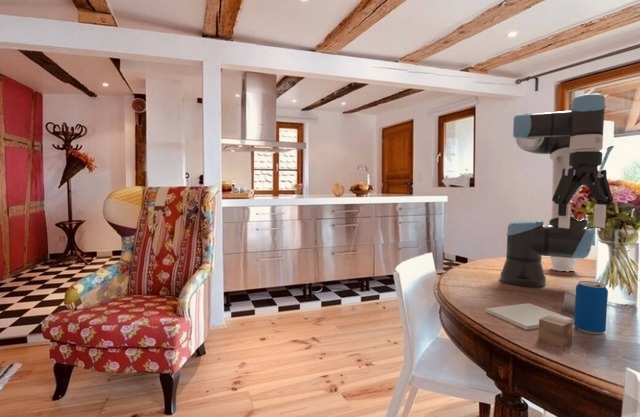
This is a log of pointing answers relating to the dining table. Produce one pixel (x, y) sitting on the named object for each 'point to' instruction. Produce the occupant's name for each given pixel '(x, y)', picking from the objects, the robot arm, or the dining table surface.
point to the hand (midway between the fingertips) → (581, 227)
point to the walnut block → (555, 330)
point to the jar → (563, 263)
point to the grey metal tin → (569, 301)
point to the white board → (523, 315)
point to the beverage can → (591, 307)
